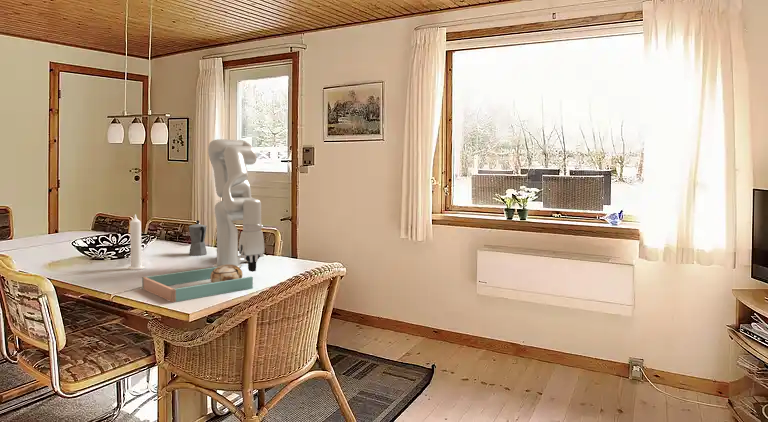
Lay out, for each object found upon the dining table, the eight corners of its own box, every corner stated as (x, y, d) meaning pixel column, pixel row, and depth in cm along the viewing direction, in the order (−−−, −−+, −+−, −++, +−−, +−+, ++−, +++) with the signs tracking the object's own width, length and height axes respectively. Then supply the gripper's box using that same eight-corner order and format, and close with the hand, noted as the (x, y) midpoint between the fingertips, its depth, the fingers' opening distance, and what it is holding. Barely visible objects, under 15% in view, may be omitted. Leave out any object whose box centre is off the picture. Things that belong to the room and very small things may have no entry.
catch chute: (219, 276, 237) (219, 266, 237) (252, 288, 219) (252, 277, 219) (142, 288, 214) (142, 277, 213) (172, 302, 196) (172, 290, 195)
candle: (138, 270, 246) (137, 215, 243) (124, 269, 247) (123, 214, 245) (148, 267, 253) (147, 213, 250) (134, 266, 254) (133, 213, 252)
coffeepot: (185, 253, 291) (184, 219, 289) (202, 251, 296) (202, 218, 295) (194, 257, 279) (194, 222, 277) (212, 256, 284) (212, 221, 282)
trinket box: (212, 289, 216) (212, 269, 215) (207, 281, 230) (207, 262, 229) (246, 286, 222) (246, 267, 221) (239, 278, 235) (239, 260, 235)
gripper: (262, 226, 240) (262, 267, 241) (231, 228, 229) (231, 271, 231) (272, 227, 234) (271, 270, 236) (241, 230, 224) (241, 274, 225)
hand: (252, 270), depth 233 cm, fingers closed
